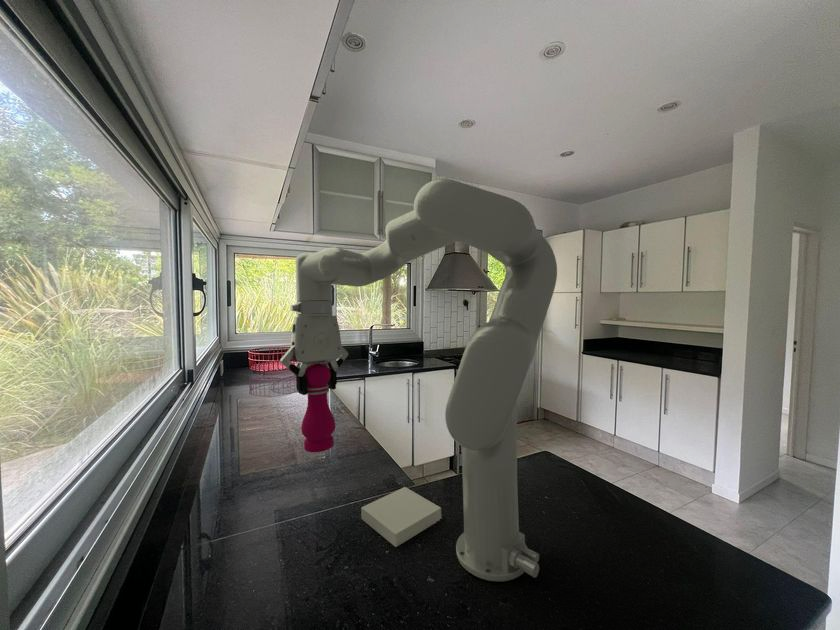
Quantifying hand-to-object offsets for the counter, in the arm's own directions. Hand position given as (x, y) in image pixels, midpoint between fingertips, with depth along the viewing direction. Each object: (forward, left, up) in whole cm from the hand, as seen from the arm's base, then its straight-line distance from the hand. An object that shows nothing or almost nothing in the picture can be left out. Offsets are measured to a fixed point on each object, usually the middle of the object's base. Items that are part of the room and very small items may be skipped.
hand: (317, 390), depth 73 cm
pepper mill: (0, 0, -13) cm, 13 cm away
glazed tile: (-8, -11, -26) cm, 29 cm away
